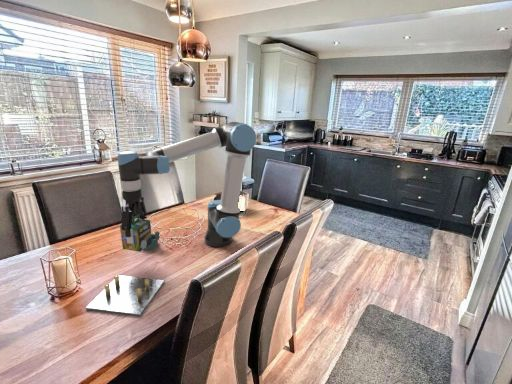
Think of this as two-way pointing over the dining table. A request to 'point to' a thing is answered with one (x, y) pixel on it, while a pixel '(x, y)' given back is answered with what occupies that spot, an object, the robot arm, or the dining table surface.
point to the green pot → (153, 242)
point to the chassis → (126, 295)
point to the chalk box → (138, 235)
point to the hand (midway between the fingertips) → (136, 237)
